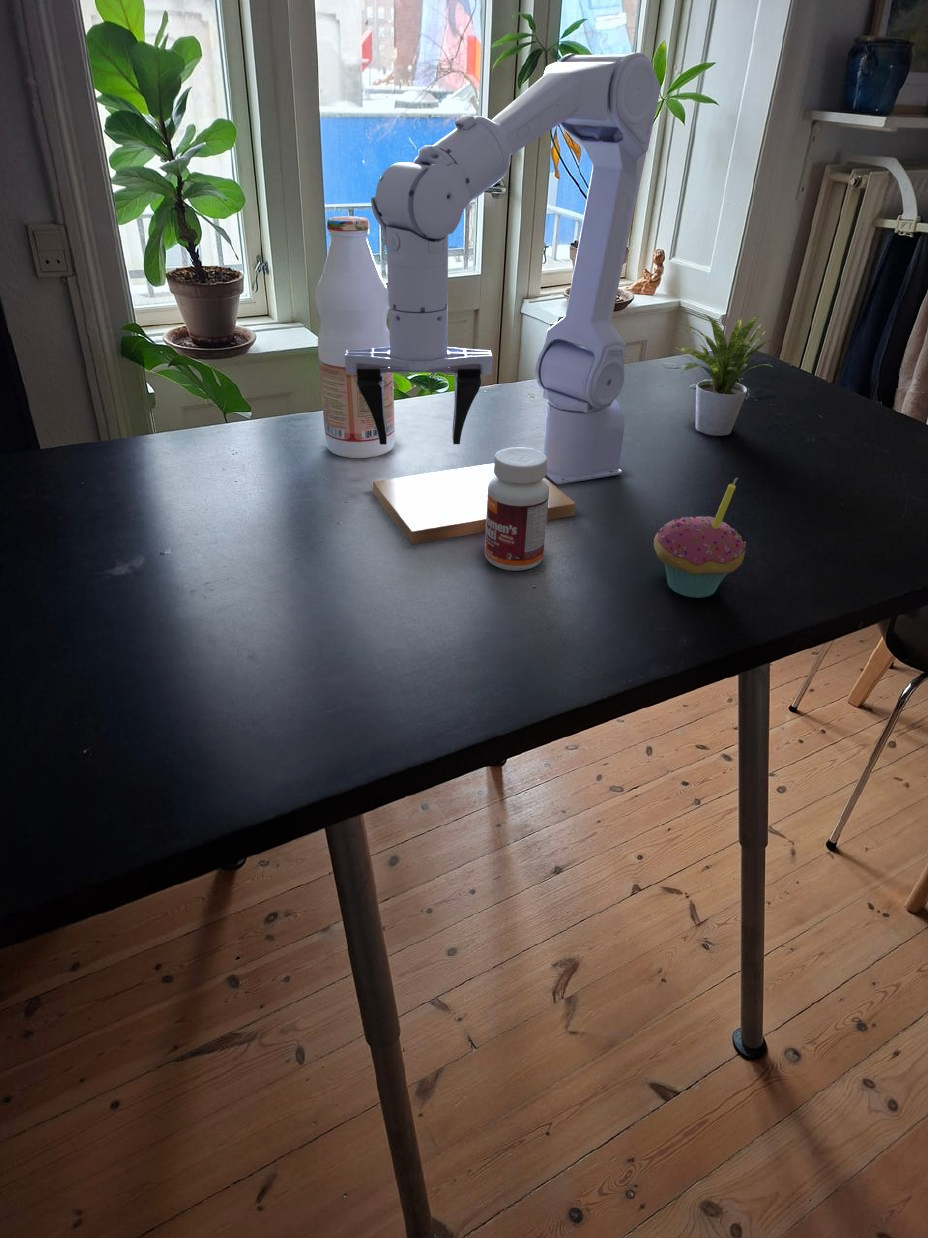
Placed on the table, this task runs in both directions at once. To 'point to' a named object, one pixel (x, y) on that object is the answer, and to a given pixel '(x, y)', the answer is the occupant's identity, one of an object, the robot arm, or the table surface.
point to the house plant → (722, 377)
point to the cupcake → (699, 551)
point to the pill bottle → (517, 509)
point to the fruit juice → (351, 339)
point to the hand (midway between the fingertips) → (419, 440)
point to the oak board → (449, 502)
